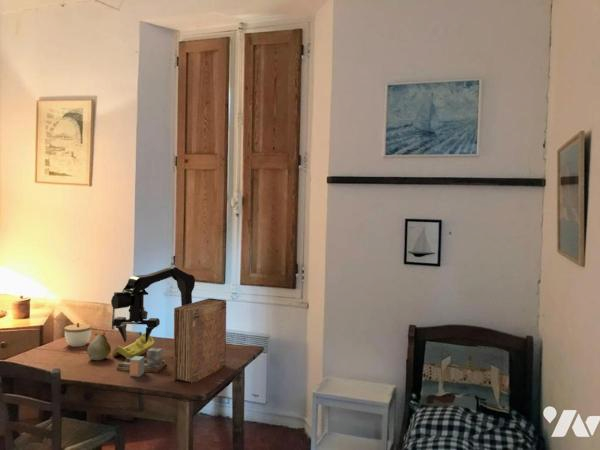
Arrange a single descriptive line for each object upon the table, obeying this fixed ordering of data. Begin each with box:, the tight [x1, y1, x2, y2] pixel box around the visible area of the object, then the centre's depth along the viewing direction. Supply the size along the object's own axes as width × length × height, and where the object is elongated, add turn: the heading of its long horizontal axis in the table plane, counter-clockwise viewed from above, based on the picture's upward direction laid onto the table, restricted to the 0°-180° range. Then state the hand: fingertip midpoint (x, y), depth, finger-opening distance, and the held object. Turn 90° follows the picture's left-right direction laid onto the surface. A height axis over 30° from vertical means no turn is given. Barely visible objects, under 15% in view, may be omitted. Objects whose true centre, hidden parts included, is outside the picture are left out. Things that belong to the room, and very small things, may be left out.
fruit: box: [86, 331, 112, 361], centre depth 242 cm, size 10×9×12 cm
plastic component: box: [112, 332, 155, 359], centre depth 253 cm, size 20×7×10 cm
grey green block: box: [129, 355, 145, 378], centre depth 223 cm, size 6×4×7 cm
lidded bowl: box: [63, 322, 92, 348], centre depth 265 cm, size 13×13×11 cm
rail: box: [116, 347, 167, 374], centre depth 232 cm, size 18×11×8 cm, turn 82°
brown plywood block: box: [172, 298, 227, 384], centre depth 226 cm, size 25×9×30 cm, turn 156°
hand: (136, 342), depth 227 cm, fingers open, 9 cm apart
